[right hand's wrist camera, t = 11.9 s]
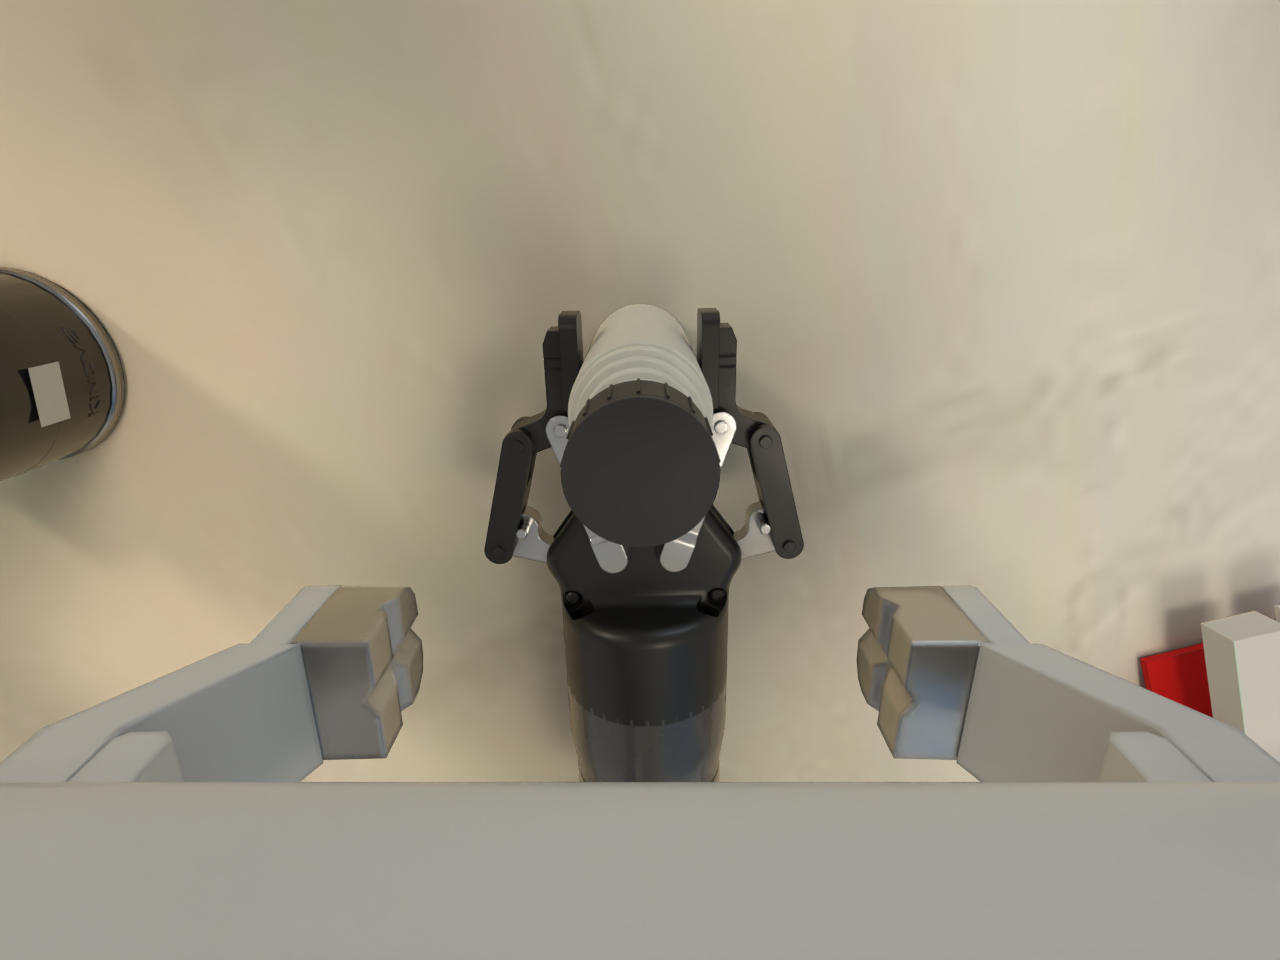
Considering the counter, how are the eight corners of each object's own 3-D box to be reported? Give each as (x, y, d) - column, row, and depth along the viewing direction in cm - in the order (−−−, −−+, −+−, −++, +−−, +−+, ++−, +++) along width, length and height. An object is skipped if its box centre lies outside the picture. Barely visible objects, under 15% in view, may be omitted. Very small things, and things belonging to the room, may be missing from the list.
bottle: (661, 285, 33) (682, 340, 16) (705, 372, 34) (766, 506, 17) (574, 332, 33) (509, 432, 17) (621, 416, 35) (603, 584, 18)
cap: (673, 350, 18) (677, 364, 16) (738, 478, 19) (749, 507, 17) (540, 420, 18) (528, 442, 16) (612, 540, 20) (609, 574, 18)
